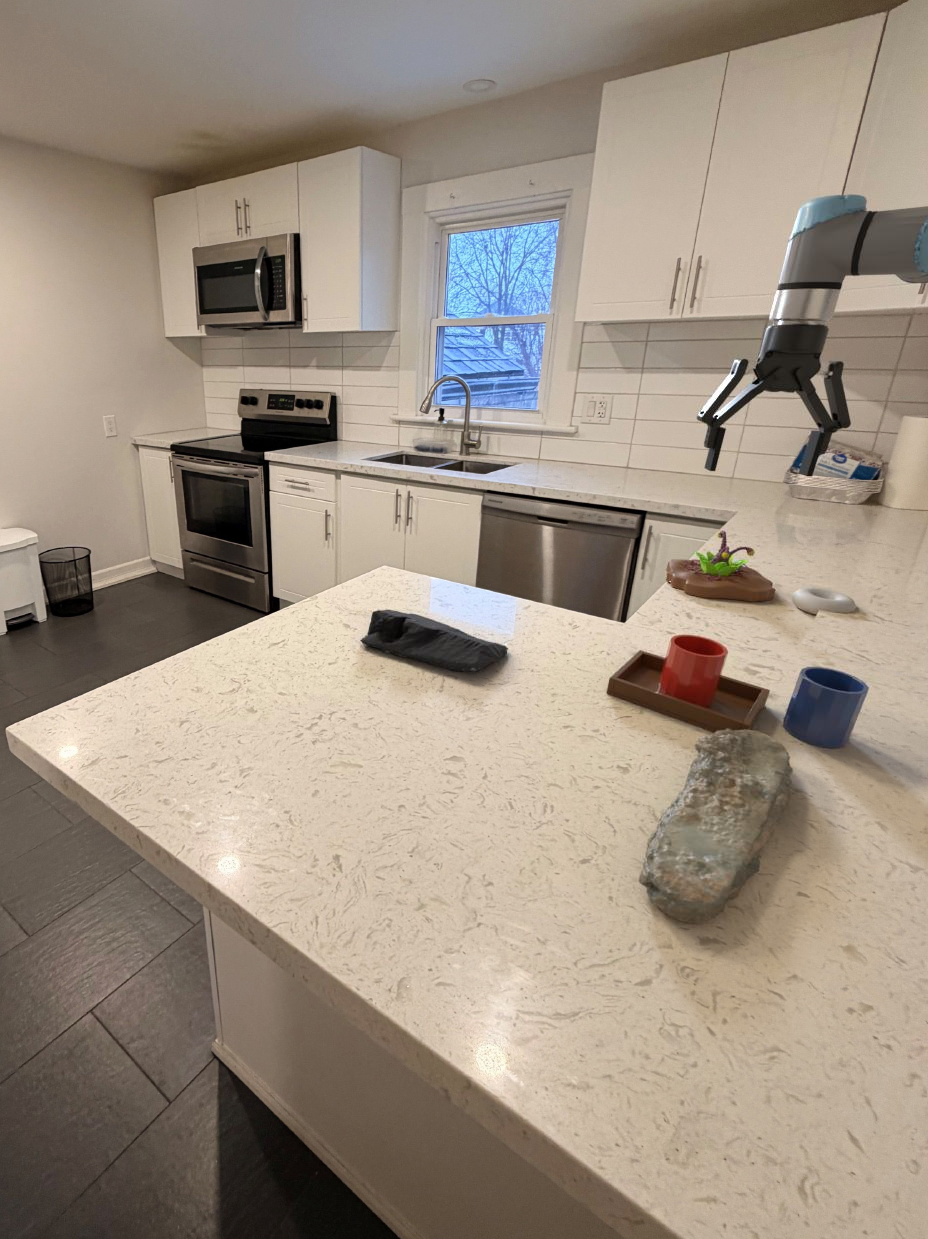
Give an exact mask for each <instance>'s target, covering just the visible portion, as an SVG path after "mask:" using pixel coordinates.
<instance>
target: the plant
mask: <svg viewBox="0 0 928 1239" xmlns="http://www.w3.org/2000/svg"><path fill="white" fill-rule="evenodd" d="M716 536H717V538H719V539H722V540H721V543H720V548H719V549H718V552H716V553H715V555H714V554H713V553H712V552H710V551H706V556H705V554H702V553H700V552H697V551H694V554H695V555H696V556H697V557H698V558H699V559H683V558H682V559H681V558H677V559H675V558H674V559H669V561H668V562H667V566H666V569H665V570H666V578H665V582H666V583H669V581H671V582H670V583H669V584H670V586H671V588H674V589H678V590H682V591H683V593H685V594H688V595H691V596H695V597H699V598H704V599H725V600H735V601H743V602H749V603H754V602H765V601H769V600H773V599H774V597H775V595H776V588H775V587H773V582H772V581H771V580H770V579H768V578H767V577H765V576H764V575H763V574H762V573H760V572H759V571H757V570H756V569H754V568H751V567H748V566H747V564H746V563H748V562H749V559H739V560H736V561H733V560H734V554H736V553H737V552H739V551H743V550H745V551H746V554H747V555H748V556H749V557H754V555H755V550H754V549H753V548H751V547H749V546H739V547H736V548H734V549H732V550H730V547H729V546H727V545H728V544H727V543H728V542H727V540H728V539H727V532H726V531H725V530H720V531H718V533H717V535H716Z"/></svg>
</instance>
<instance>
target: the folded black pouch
mask: <svg viewBox="0 0 928 1239" xmlns="http://www.w3.org/2000/svg"><path fill="white" fill-rule="evenodd" d="M369 622H370V623H369V626H368V630H367V633H366V635H365V636H364V637H362V638H361V639H359V641H360V642H361V644H362V645H365V646H367V647H369V648H378V649H380V650H382V651H383V652H387V653H389V654H392V655H396V656H400V657H401V658H407V659H408V658H411V659H413V660H414V659H415V660H418V661H419V662H422V663H428V665H435V666H436V667H441V668H445V669H448V670H452V671H454V672H458V671H460V672H461V671H464V672H477V671H479V670H480V669H482V668H485V667H486V666H488V665H490V664H492V663H494V662H495V661H499V660H501V659H502V658H503V657H505V656H506V655H507V654H508V650H509V648H508V647H507V646H506V645H503V644H501V643H498V642H493V641H488V640H485V639H482V638H478V637H476V636H473V635H470V634H469V633H466V632H465V631H462V630H461V629H458V628H456V627H453V626H451V625H448V624H446V623H442V622H440V621H437V620H434V619H431V618H428V617H426V616H423V615H420V614H416V613H411V612H410V613H407V612H401V611H398V610H393V609H377V610H374V611H372V613H371V618H370V621H369ZM397 639H398V641H396V640H397ZM394 641H396V642H394Z"/></svg>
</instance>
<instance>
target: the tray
mask: <svg viewBox="0 0 928 1239" xmlns="http://www.w3.org/2000/svg"><path fill="white" fill-rule="evenodd" d="M665 658H666V657H665V656H661V655H658V654H654V653H651V652H648V651H644V650H641V649H640V650H638V651H637V652H636V653H635V654H634V655H633V656H632V657H630V658H629V659H628V660H627V661H626V662H625V663H624V664H623V665H622V666H621V667H620V668H618V669H617V670H616V671H615V672H614V673H613V674H612V675H611V676H610V677H609V679H608V682H607V688H606V692H605V693H606V694H607V695H610V696H613V697H616V698H618V699H620V700H621V699H622V700H624V701H627V702H630V703H633V704H635V705H637V706H640V707H643V708H646V709H649V710H652V711H655V712H658V713H660V714H663V715H666V716H668V717H672V718H674V719H676V720H680V721H682V722H686V723H687V724H688V723H689V724H691V725H693V726H696V727H699V728H702V729H705V730H708V731H709V732H713V733H715V732H716V731H717V730H719V731H720V730H726V729H727V728H729V729H731V730H733V731H735V730H737V731H738V730H752V729H753V727H754V726H755V724H756V722H757V720H758V719H759V717H760V715H761V714H762V712H763V710H764V708H765V707H766V704H767V700H768V698H769V696H770V692H771V689H768V688H766V687H761V686H759V685H755V684H752V683H749V682H745V681H742V680H738V679H736V678H732V677H729V676H726V675H721V678H720V682H719V685H718V689H717V692H716V695H715V699H714V701H713V704H712V705H711V706H709V707H707V708H704V707H701V706H698V705H695V704H692V703H689V702H686V701H684V700H681V699H678V698H675V697H672V696H669V695H666V694H663V693H660V692H659V691H658V687H659V681H660V678H661V674H662V670H663V666H664V662H665Z"/></svg>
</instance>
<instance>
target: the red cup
mask: <svg viewBox="0 0 928 1239" xmlns="http://www.w3.org/2000/svg"><path fill="white" fill-rule="evenodd" d="M667 646H668V647H667V650H666V654H665V657H664V658H665V662H664V666H663V670H662V674H661V678H660V681H659V687H658V691H659V692H660V693H663V694H666V695H669V696H672V697H675V698H678V699H681V700H684V701H686V702H689V703H692V704H695V705H698V706H701V707H704V708H707V707H709V706H711V705H712V704H713V701H714V699H715V695H716V692H717V689H718V685H719V682H720V678H721V675H722V674H723V672H724V668H725V665H726V661H727V658H728V654H729V651H728V648H727V647H726V646H724V645H723V644H722V643H721V642H718V641H716V640H713V639H711V638H707V637H704V636H700V635H695V634H678V635H677V634H676V635H673V636H672V637H671V638H669V642H668V645H667Z"/></svg>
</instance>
